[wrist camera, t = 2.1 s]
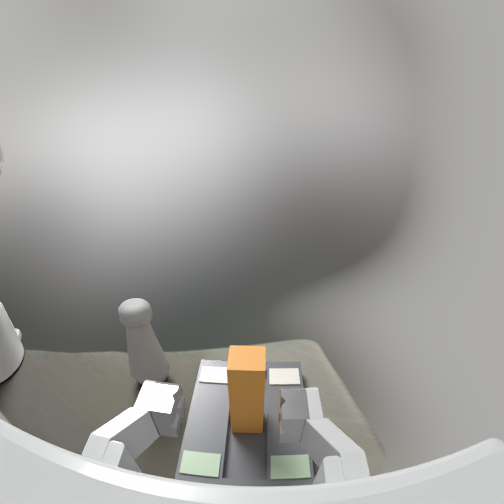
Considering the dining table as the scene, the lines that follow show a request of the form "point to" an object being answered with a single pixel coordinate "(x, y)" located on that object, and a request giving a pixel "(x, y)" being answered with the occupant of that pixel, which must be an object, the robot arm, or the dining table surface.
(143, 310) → the salt shaker
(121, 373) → the dining table surface
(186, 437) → the panel
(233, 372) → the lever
